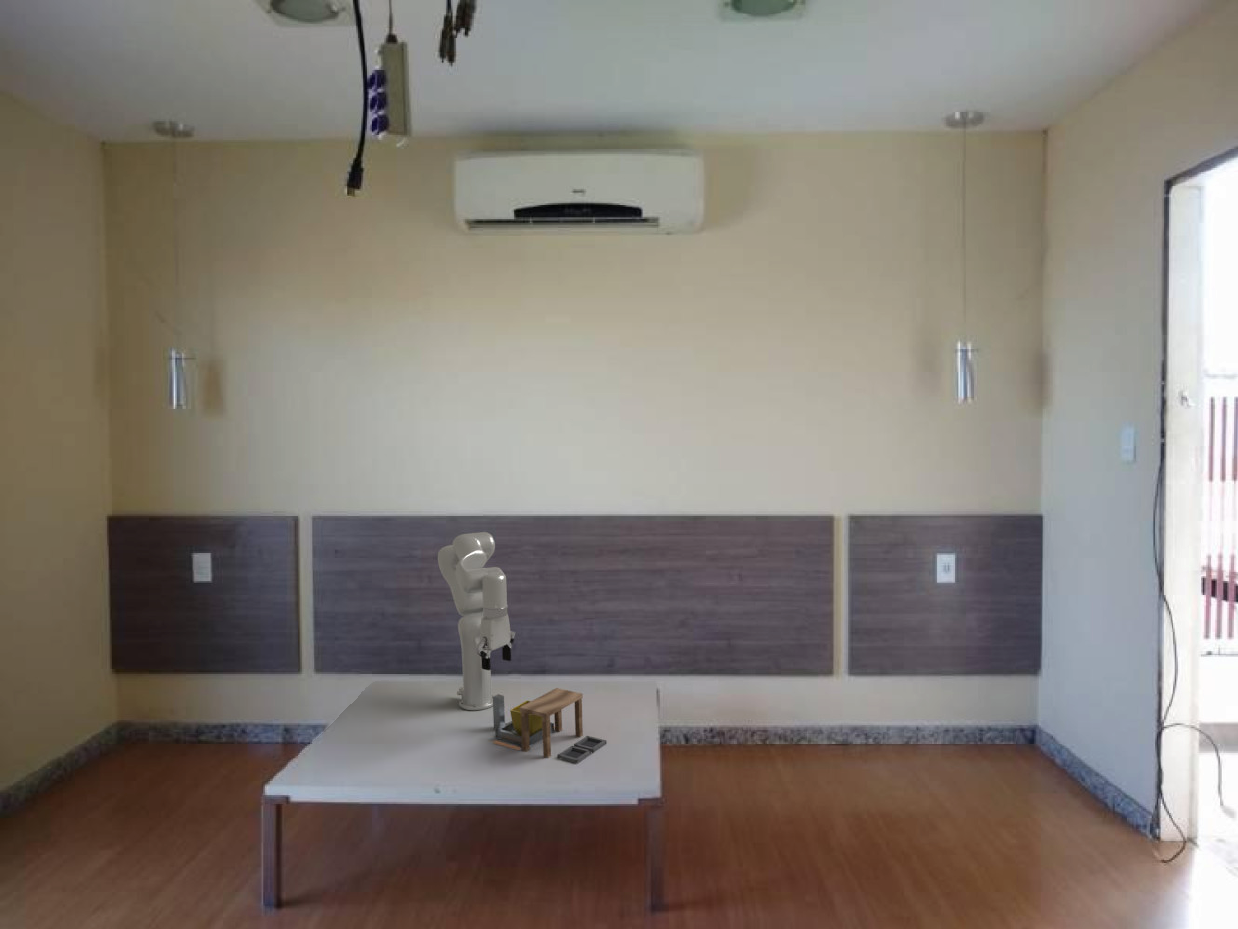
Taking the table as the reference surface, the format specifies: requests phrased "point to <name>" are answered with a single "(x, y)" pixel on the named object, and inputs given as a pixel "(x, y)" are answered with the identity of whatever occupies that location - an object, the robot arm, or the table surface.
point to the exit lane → (508, 744)
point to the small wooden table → (545, 709)
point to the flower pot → (534, 720)
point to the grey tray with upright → (510, 725)
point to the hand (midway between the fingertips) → (496, 664)
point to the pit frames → (582, 749)
